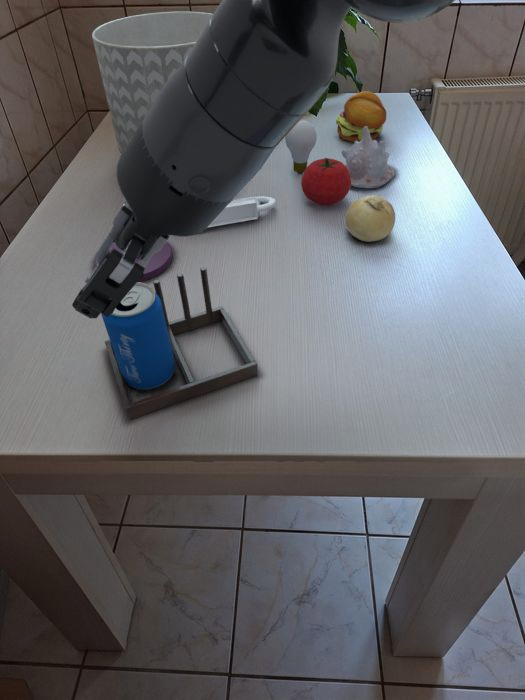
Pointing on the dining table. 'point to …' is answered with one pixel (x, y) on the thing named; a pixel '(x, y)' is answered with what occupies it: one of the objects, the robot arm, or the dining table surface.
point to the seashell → (368, 162)
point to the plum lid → (151, 261)
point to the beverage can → (141, 338)
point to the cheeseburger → (361, 116)
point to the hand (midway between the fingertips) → (103, 274)
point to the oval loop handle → (243, 210)
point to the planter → (142, 62)
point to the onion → (370, 218)
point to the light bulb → (301, 144)
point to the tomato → (326, 181)
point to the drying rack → (175, 328)
